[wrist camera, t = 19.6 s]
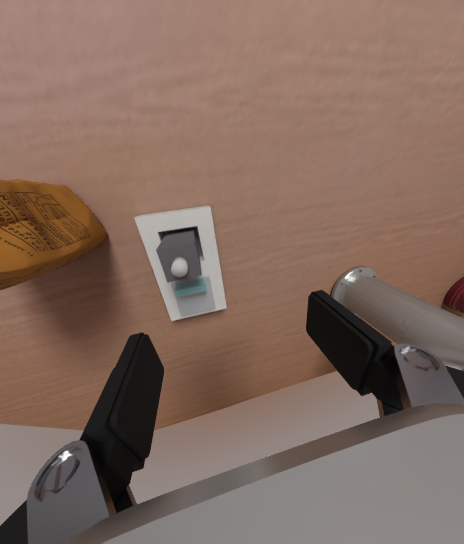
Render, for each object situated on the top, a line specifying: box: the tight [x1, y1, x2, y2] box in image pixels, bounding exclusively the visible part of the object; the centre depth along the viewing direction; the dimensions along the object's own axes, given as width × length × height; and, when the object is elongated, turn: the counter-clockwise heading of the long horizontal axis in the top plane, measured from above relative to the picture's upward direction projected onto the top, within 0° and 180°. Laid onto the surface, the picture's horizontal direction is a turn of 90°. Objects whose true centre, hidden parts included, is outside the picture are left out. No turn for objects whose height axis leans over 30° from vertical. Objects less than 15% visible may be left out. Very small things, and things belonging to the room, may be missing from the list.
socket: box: [134, 205, 227, 321], centre depth 31 cm, size 20×12×4 cm, turn 7°
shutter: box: [171, 276, 216, 316], centre depth 30 cm, size 7×7×3 cm
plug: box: [156, 228, 202, 283], centre depth 25 cm, size 4×4×12 cm
